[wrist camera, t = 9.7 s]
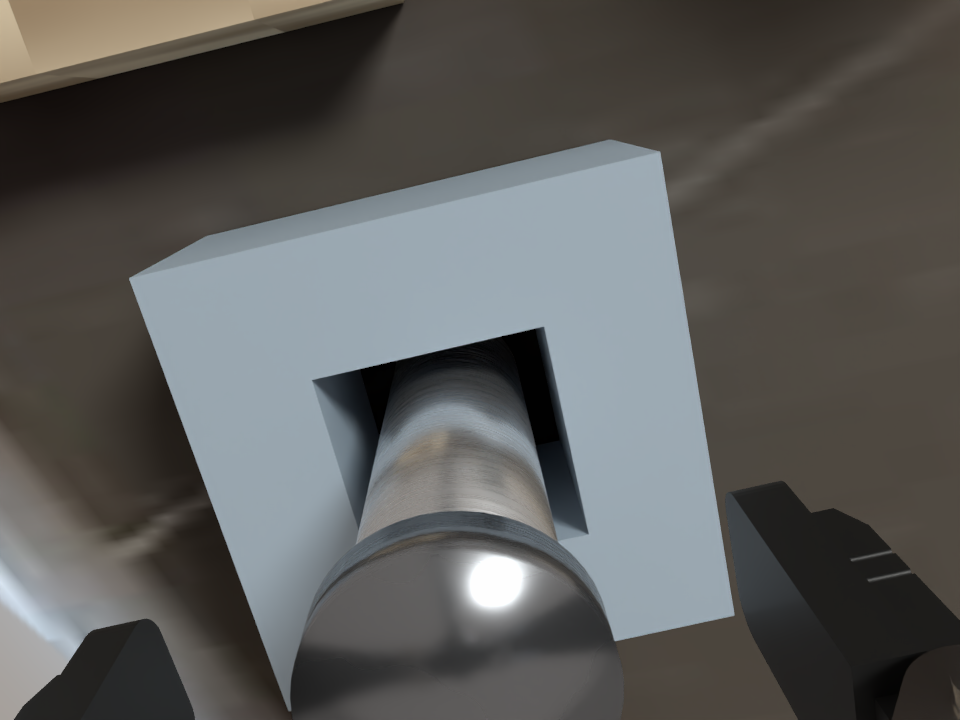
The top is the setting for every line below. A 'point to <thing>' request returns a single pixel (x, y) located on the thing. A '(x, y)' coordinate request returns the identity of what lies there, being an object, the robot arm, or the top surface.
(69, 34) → the mount
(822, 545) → the robot arm
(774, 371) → the top surface
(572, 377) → the socket
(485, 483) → the pin
